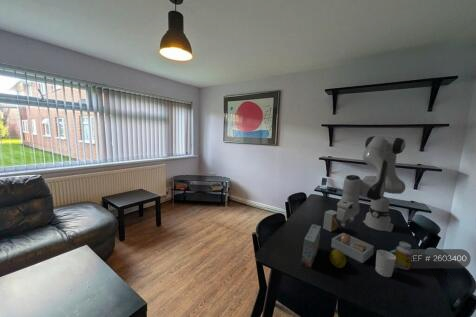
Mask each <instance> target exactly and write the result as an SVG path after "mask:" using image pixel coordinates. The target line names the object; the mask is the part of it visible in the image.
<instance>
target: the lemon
mask: <svg viewBox="0 0 476 317" xmlns="http://www.w3.org/2000/svg"><path fill="white" fill-rule="evenodd" d="M329 261H330V263H331V264H332V265H333V266H334V267H335V268H337V269H342V268H344V267H345V265H346V263H347V257H346V255H345V254H343V252H341V251H340V250H336V249H333V250H331V251H330V253H329Z"/></svg>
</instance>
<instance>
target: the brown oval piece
mask: <svg viewBox="0 0 476 317" xmlns="http://www.w3.org/2000/svg"><path fill="white" fill-rule="evenodd" d="M340 234H341V243H343V244H345V245H348V246H350V238H351V237H350V236H351V235H350V234H347V233H345V234H342V233H340Z"/></svg>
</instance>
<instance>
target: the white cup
mask: <svg viewBox="0 0 476 317" xmlns="http://www.w3.org/2000/svg"><path fill="white" fill-rule="evenodd" d="M395 262H396V256H395V254H393V253H392V252H389V251H387V250H385V249H378V250H376V256H375V269H374V270H375V272H376V273H377V274H379V275H381V276H382V277H386V278H391V277H392V276H393V272H394V269H395V266H396V265H395Z"/></svg>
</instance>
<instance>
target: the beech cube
mask: <svg viewBox="0 0 476 317" xmlns="http://www.w3.org/2000/svg"><path fill="white" fill-rule="evenodd" d="M353 248H354V249H356V250H358V251H360V252H362V253H363V252H364V251H366V246H364V245H362V244H360V243H355V244H354V245H353Z"/></svg>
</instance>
